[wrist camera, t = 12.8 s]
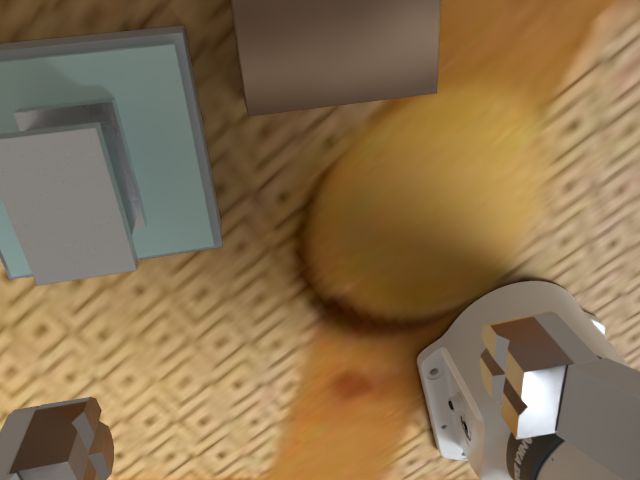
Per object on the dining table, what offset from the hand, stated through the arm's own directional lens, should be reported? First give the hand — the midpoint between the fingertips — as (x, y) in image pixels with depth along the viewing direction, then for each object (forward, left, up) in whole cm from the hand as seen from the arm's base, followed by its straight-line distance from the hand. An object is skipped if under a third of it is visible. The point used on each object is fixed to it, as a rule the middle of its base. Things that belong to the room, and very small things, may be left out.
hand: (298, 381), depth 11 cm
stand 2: (+5, -6, -28) cm, 29 cm away
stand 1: (-3, +10, -28) cm, 29 cm away
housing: (-3, +10, -24) cm, 26 cm away
